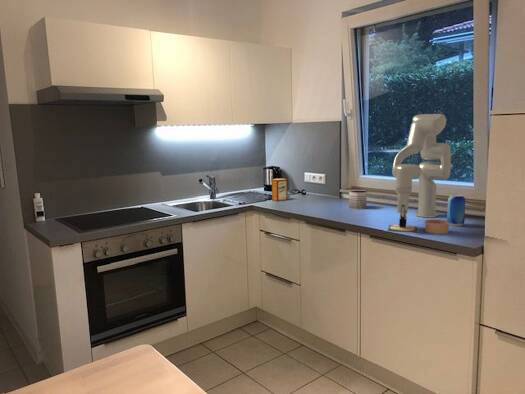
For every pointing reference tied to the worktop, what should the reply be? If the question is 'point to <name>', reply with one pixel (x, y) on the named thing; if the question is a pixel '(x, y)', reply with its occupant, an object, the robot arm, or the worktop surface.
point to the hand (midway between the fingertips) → (402, 225)
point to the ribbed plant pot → (357, 199)
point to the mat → (400, 231)
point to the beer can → (456, 210)
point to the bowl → (436, 226)
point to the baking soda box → (279, 190)
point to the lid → (403, 228)
